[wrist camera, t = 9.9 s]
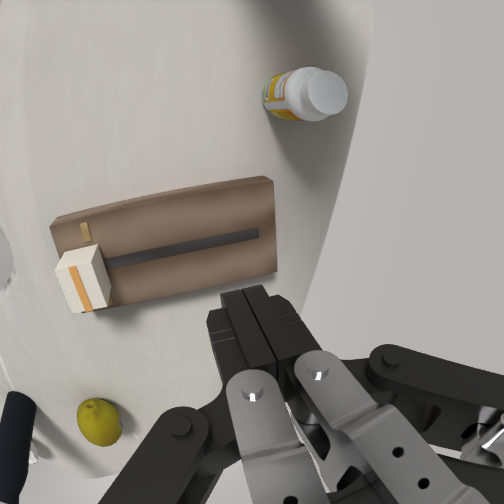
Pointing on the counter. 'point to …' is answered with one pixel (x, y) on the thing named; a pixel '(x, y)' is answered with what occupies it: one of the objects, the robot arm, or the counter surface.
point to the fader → (84, 279)
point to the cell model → (33, 454)
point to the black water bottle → (15, 445)
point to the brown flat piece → (178, 238)
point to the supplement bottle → (305, 94)
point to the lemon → (99, 422)
